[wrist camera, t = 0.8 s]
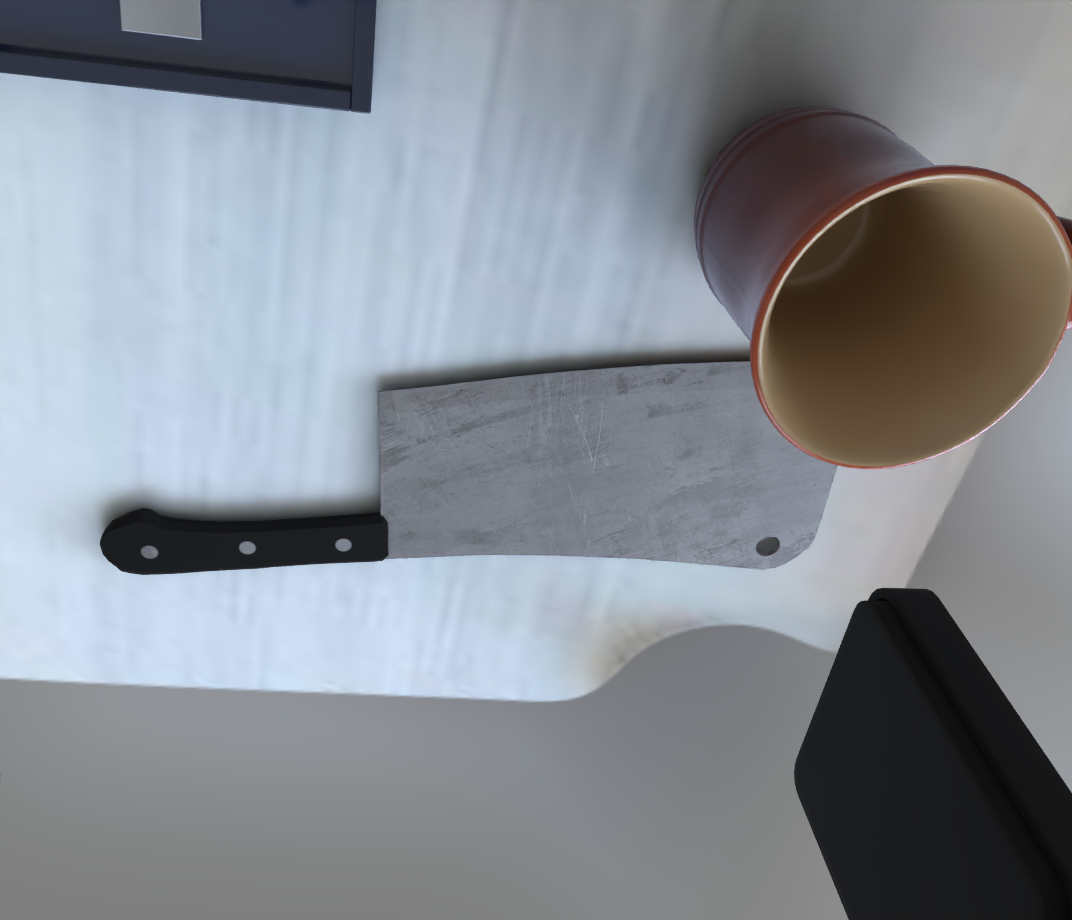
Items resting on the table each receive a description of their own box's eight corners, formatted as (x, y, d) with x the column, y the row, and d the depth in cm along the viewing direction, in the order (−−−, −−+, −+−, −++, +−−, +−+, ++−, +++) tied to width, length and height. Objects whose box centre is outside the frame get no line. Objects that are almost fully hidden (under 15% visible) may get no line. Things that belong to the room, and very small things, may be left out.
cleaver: (65, 356, 35) (110, 581, 40) (61, 363, 35) (108, 590, 40) (863, 358, 39) (809, 562, 44) (869, 364, 39) (813, 570, 44)
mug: (660, 329, 37) (741, 486, 29) (666, 83, 33) (765, 184, 24) (972, 298, 38) (1140, 441, 30) (1022, 55, 33) (1240, 142, 25)
